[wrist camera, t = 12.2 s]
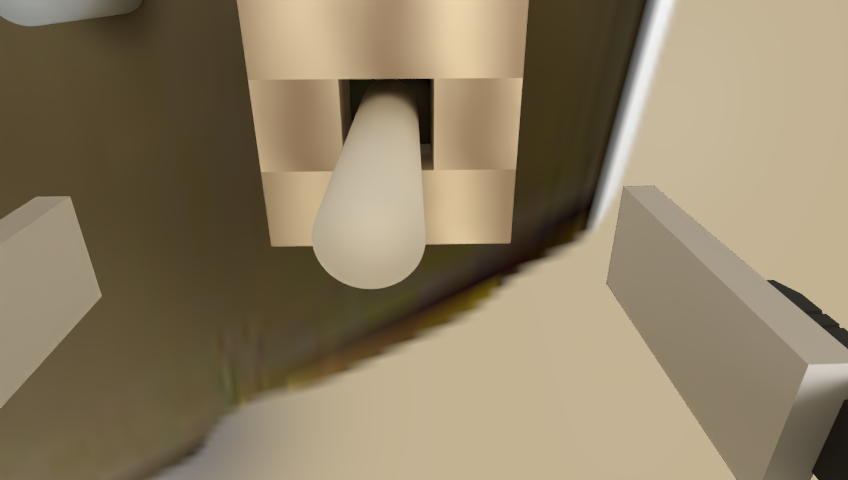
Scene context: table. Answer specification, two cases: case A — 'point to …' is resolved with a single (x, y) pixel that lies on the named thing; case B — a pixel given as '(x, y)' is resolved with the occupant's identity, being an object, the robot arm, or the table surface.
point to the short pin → (62, 10)
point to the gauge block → (388, 59)
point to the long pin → (375, 194)
